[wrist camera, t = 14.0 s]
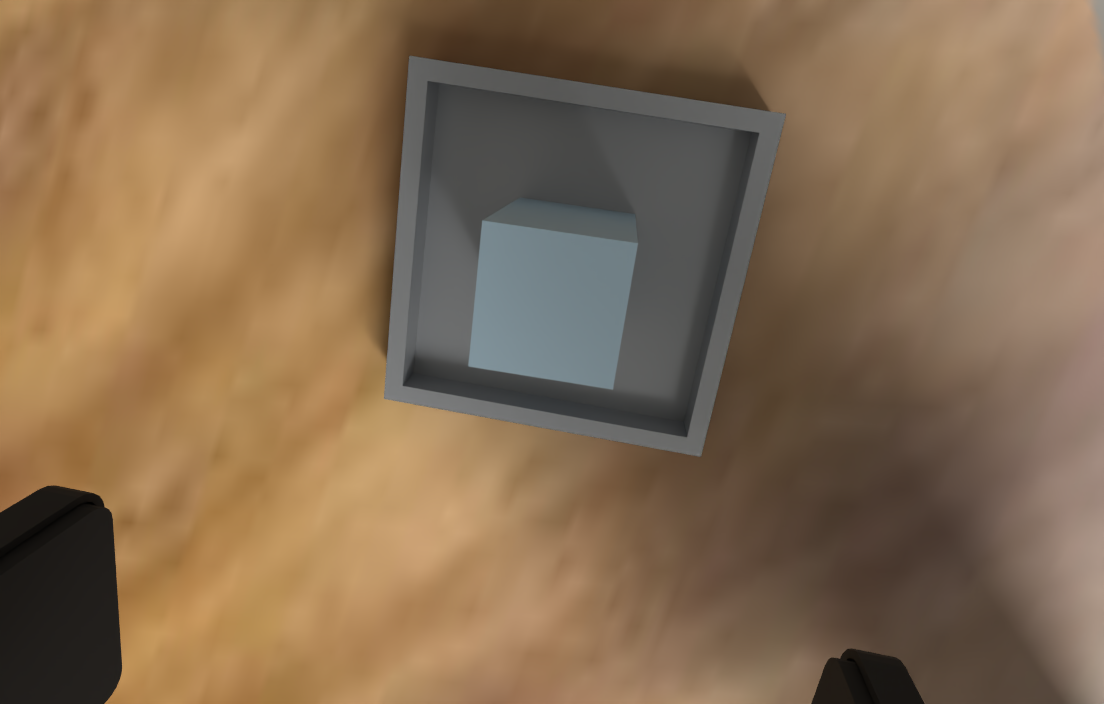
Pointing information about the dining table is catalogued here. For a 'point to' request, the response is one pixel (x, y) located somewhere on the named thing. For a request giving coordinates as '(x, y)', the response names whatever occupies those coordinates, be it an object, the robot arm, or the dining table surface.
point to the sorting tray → (589, 181)
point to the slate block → (553, 291)
